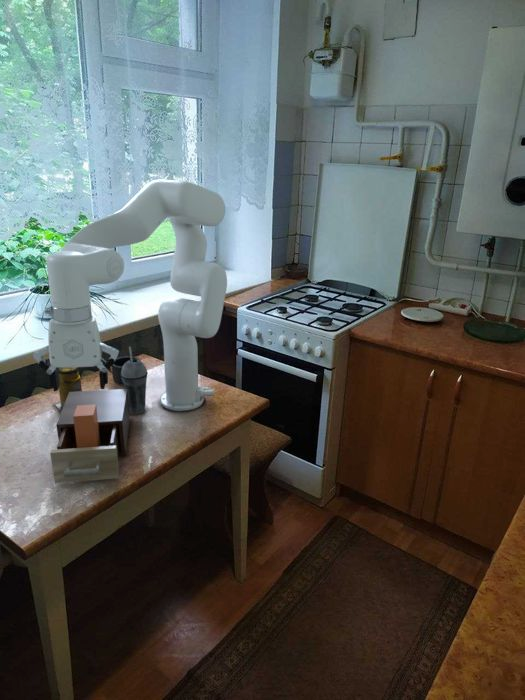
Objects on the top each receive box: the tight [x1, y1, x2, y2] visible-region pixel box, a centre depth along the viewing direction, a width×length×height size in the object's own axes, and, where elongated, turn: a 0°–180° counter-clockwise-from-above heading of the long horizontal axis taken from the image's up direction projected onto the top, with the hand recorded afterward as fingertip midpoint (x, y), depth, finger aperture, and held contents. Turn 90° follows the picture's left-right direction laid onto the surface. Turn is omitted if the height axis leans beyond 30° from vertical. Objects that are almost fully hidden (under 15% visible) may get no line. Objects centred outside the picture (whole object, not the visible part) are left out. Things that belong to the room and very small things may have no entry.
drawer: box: [49, 424, 120, 484], centre depth 113 cm, size 20×14×8 cm
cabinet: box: [55, 388, 131, 457], centre depth 125 cm, size 17×15×10 cm
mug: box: [107, 355, 142, 386], centre depth 157 cm, size 12×9×7 cm
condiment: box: [55, 367, 83, 412], centre depth 139 cm, size 7×8×12 cm
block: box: [73, 405, 101, 448], centre depth 113 cm, size 4×5×13 cm
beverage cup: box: [121, 346, 148, 415], centre depth 137 cm, size 7×7×20 cm
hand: (80, 387), depth 108 cm, fingers open, 9 cm apart
